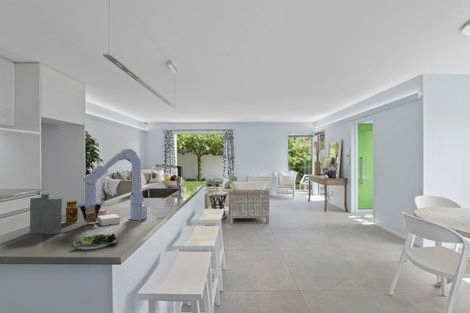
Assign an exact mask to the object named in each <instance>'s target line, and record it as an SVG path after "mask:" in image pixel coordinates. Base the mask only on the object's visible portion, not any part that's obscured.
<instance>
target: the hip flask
mask: <svg viewBox="0 0 470 313" xmlns="http://www.w3.org/2000/svg"><path fill="white" fill-rule="evenodd" d="M49 197H50V193H41V194H40V197H30V198H29V233H30V234H38V235H39V234H41V235H42V234H43V235H51V234H52V235H57V234H62V224H63V223H62V222H63V218H62V216H63V215H62V214H63V212H62V211H63V210H62V207H63V206H62V205H63V204H62V203H63V199H62V197H53V198H52V197H50V198H49Z"/></svg>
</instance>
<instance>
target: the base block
mask: <svg viewBox="0 0 470 313" xmlns="http://www.w3.org/2000/svg"><path fill="white" fill-rule="evenodd" d="M97 223H98V224H99V225H100V226H101V225H103V226H109V224H111V225H117V224H121V217H120V216H119V215H118V214H117V213H112V214H106V215H102V216H98V219H97Z"/></svg>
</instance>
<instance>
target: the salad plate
mask: <svg viewBox="0 0 470 313" xmlns="http://www.w3.org/2000/svg"><path fill="white" fill-rule="evenodd" d="M118 240H119V239H118V238H116V236H115V233H111V234H103V233H102V234H101V233H100V234H94V235H90V236H86V237H83V238H80V239H76V240H74V241H73V242H72V245H71V246H70V247H69V248H70V249H77V250H80V249H81V250H82V251H89V250H91V251H93V250H94V251H95V250H99V249H104V248H106V247H107V248H108V247H112V246H114V245H116V244H118V243H119V241H118Z"/></svg>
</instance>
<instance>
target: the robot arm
mask: <svg viewBox="0 0 470 313" xmlns="http://www.w3.org/2000/svg"><path fill="white" fill-rule="evenodd" d="M123 160H126V161H128V162H129V163H130V164H131V190H130V195H129V201H130V210H129V212H130V217H128V218H127V220H131V221H132V220H133V221H134V220H135V221H142V220H145V219H147V218H148V207H147V205H146V204H144V202H145V197H144V195H143V191H142V187H141V186H142V181H141V180H142V179H141V178H142V177H141V176H142V173H141V172H142V167H141V166H142V165H141V164H142V162H141V159H140V157H139V156H138V154H137V152H136V151H135V150H133V149H132V148H123V149H122V150H121V151H118V152H117V153H116V154H114V156H112V157H111V158H110V159H109V160H108V161H107V162H106V163H104V164H99V165H96V167H95V169H93V170H92V171H89V174H86V175H85V176H84V178H83V181H84V183H85V184H84V202H82V203H81V202H80V203H77V204H76V208H78V209H80V211H81V213H82V216H83V220H84V221H85V220H86V212H87V208H86V207H94V212H96V220H98V219H97V215H98V212H99V210H100V209H101V207H102V206H105V201H97V183H98V180H100V179H101V178H102V177H103V176H104V175H106V174H107V173H108V170H109V169H110V168H111V167H112V166H114V165H115V164H117V163H118V162H119V161H123Z"/></svg>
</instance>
